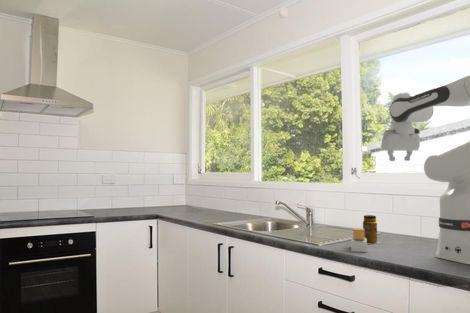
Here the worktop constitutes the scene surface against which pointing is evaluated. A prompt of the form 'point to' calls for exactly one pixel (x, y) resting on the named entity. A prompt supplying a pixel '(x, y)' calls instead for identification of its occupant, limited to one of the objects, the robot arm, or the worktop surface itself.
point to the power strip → (358, 245)
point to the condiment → (370, 228)
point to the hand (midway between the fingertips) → (399, 160)
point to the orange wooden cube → (359, 233)
